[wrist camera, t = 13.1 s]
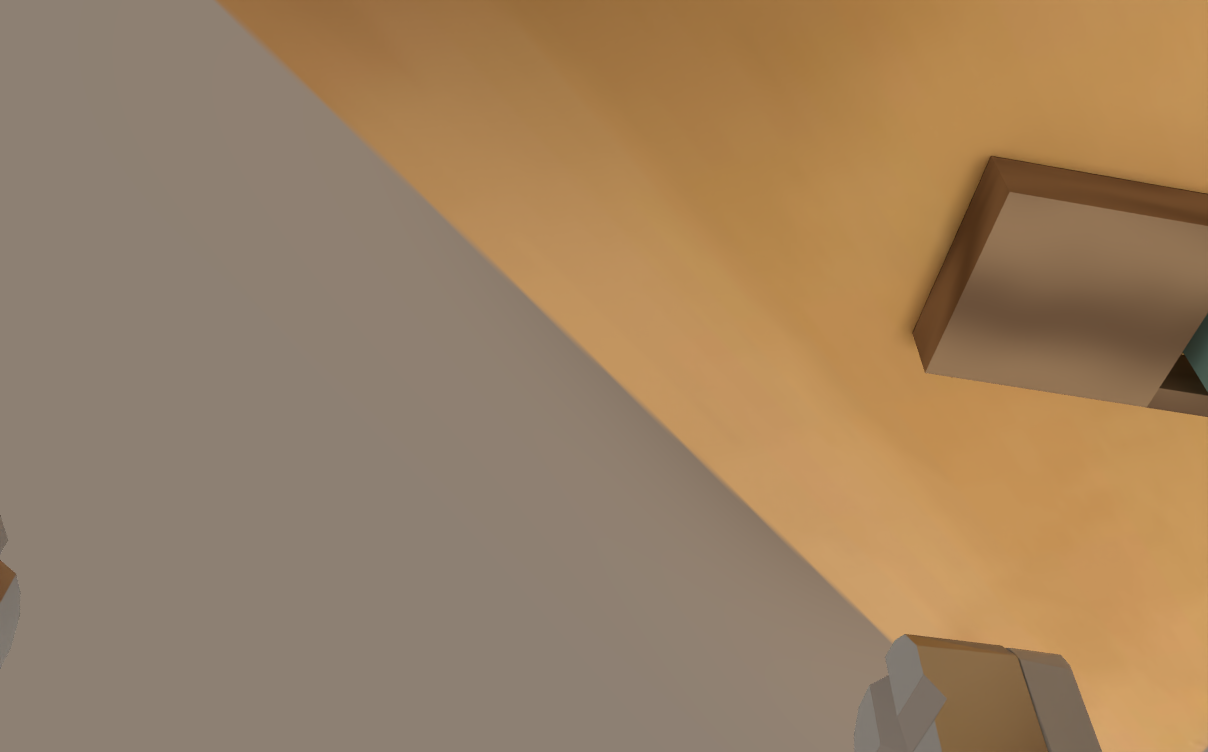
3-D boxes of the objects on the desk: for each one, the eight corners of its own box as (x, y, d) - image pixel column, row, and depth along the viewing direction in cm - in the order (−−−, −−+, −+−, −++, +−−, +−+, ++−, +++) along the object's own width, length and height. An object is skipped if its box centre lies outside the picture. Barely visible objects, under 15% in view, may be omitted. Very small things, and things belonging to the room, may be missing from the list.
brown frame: (991, 156, 39) (1009, 191, 37) (1456, 238, 41) (1496, 276, 39) (912, 333, 44) (925, 372, 42) (1329, 399, 46) (1359, 440, 44)
